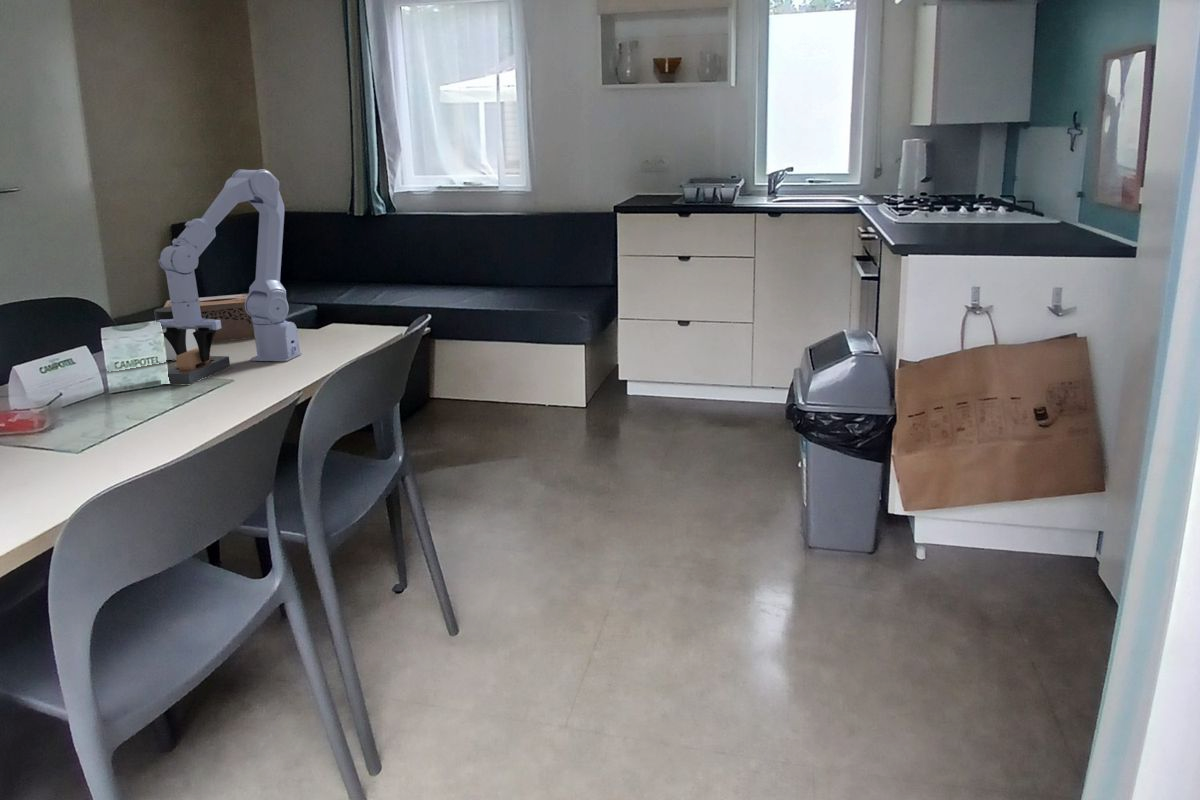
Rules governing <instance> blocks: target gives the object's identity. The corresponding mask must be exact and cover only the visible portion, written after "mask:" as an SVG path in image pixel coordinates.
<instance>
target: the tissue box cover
mask: <svg viewBox="0 0 1200 800" xmlns="http://www.w3.org/2000/svg"><path fill="white" fill-rule="evenodd" d="M248 294H249V293H240V294H229V295H228V294H227V295H217V296H216V295H215V296H204V297H198V298H199V304H200V310H201V317H202V318H204V319H214V320H220V321H221V329H218V330H216V332H215V335H214V337H213V340H212V341H216V342H222V341H221V340H226V341H232V340H231V339H237V340H244V339H243V338H247V339H255V335H254V328H253V321H252V317H251V316H249V315H248V314H247V312H246V310H245V300H246V298H247V296H248ZM170 306H171V301H170V299H168V300H166V302H165V304H164V306H163V307H170ZM195 331H199V329H195Z"/></svg>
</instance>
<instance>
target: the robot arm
mask: <svg viewBox="0 0 1200 800" xmlns="http://www.w3.org/2000/svg"><path fill="white" fill-rule="evenodd" d="M223 186H224V187H222V190H220V192H219V193H218V195H216V197H215V199H214V201H213V202H212V203H211V204H210V206H209V207H208V208H207V209H206V211H205V213H204V214H203V216H202V217H200V218H193V219H192V220H188V221H186V223H185V224H184V226H185V228H184V230H183V231H181V233H180V234H179V235H178V236H177V238H173V240H172V241H171V243H172V245H169V246H166V247H164V248H163V250H162V251H161V252H160V257H159V259H158V260H157V261H158V264H159V267H160V268H161V269H163V271H164V273H165V275H166V276H165V277H166V281H167V282H166V283H167V288H168V294H169V300H170V301H171V307H172V313H173V319H165V320H158V321H156V322H160V323H161V326H162V329H166V332H164V333H163V334H164V337H165V338H166V339H167V340H168V341H169V342H170V344H171V345H172V347H173V349H174V351H175V353H176V355H180V354H182V353H185V352H187V349H186V329H199V331H195V332H193V335H194V337H195V339H196V342H197V345H198V348H199V354H200V359H201V362H205V361H208V360H209V356H211V354H210V353H211V346H212V343H213V342H212V340H213V337H214V335H215V332H216V330H218V329H221V321H220V320H214V319H204V318H202V317H201V310H200V304H199V298H200V297H199V293H198V287H197V286H198V285H197V279H196V274H195V270H196V269H198V265H199V261H200V260H199V257H200V256H201V255H203V254H202V253H203V252H204V251H205V250H206V249H207V247H208V246H209V245H210V244H211V243H212V241H213V240H214V239H215V238H216V236H217V233H216V232H217V231H216V227H218V225H219V224H220V223H221V222H222V221H223V220H224V219H225V218H226V217H227V216H228V214H229V213H230V212H231V211H232V210H233V209H234V208H235V207H236V206H237V204H241V203H245V202H248V203H249V204H250V205H252V206H253V207H254V209H255V210H257V212H258V214H259V215H258V235H257V246H256V247H257V249H256V263H255V265H256V266H255V279H254V281H253V282H252V284H250V286H249V289H248V293H247V294H248V296H247V298H246V300H245V310H246V312H247V314H248V315H249V316H251V317H252V321H253V328H254V335H255V338H254V342H255V349H256V355H255V356H253V357H251V358H250V359H249V361H250V362H288V361H290V360H292V359H294V358H296V357H298V356H300V355H302V353H303V351H301V349H300V340H299V334H298V333H299V332H298V328H297V325H296V324H295V322H292V321H288V320H286V317H287V316H288V314H289V310H290V308H289V306H290V305H289V303H288V300H287V299H288V298H287V290H286V288H285V287H284V285H283V284H282V283H281V271H282V270H281V269H282V268H281V267H282V255H283V240H284V226H285V225H284V224H285V211H286V210H285V203H284V201H283V197H282V195H281V192H280V181H279V180H278V179H277V178H276V176H275V175H274V174H273V173H271V172H270V171H269V170H268V169H263V168H262V169H243V168H242V169H237V170H235V171H234V172H232V175H231V176H230V177H229V178H228V179H226V180H225V183H224V185H223Z"/></svg>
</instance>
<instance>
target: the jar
mask: <svg viewBox="0 0 1200 800" xmlns="http://www.w3.org/2000/svg"><path fill="white" fill-rule="evenodd" d="M153 312H154V313H153V314H154V319H155V320H154V322H155V321H158V320H165V319H173V313H172V307H171V306H170V307H164V306H163V307H159V308H155V309H154V310H153ZM164 332H166V329H163V333H164ZM193 332H195V329H186V349H187V351H190V350H192V349H195V348H198V345H197V342H196V339H195V337H194V335H193ZM164 340H165V346H166V351H167V355H168V358H169V360H172V361H174V360H173V359H176V356H177V355H176V353H175V351H174V349H173V347H172V345H171V344H170V342H169V341H168V340H167V339H166V338H165V337H164Z"/></svg>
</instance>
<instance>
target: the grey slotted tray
mask: <svg viewBox="0 0 1200 800" xmlns="http://www.w3.org/2000/svg"><path fill="white" fill-rule="evenodd" d="M229 368H231V363H230V356H227V355H225V356H224V355H223V356H222V355H221V356H220V355H210V363H207V364H201V363H199V364H196V369H193V370H179V367H178V366H177V365H176V366H174V367H172V368H169V369H167V370H168V377H169V381H170V383H171V384H191V383H194V382H196V381H198V380H200V379H202V378H205V377H207V378H208V376H209V377H211V376H213V375H215V373H216V374H217V372H218V373H220V372H221V371H224V370H226V369H229ZM210 375H211V376H210ZM205 379H206V378H205ZM202 380H203V379H202ZM200 381H201V380H200ZM198 382H199V381H198ZM196 383H197V382H196ZM194 384H195V383H194ZM191 385H192V384H191Z"/></svg>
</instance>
